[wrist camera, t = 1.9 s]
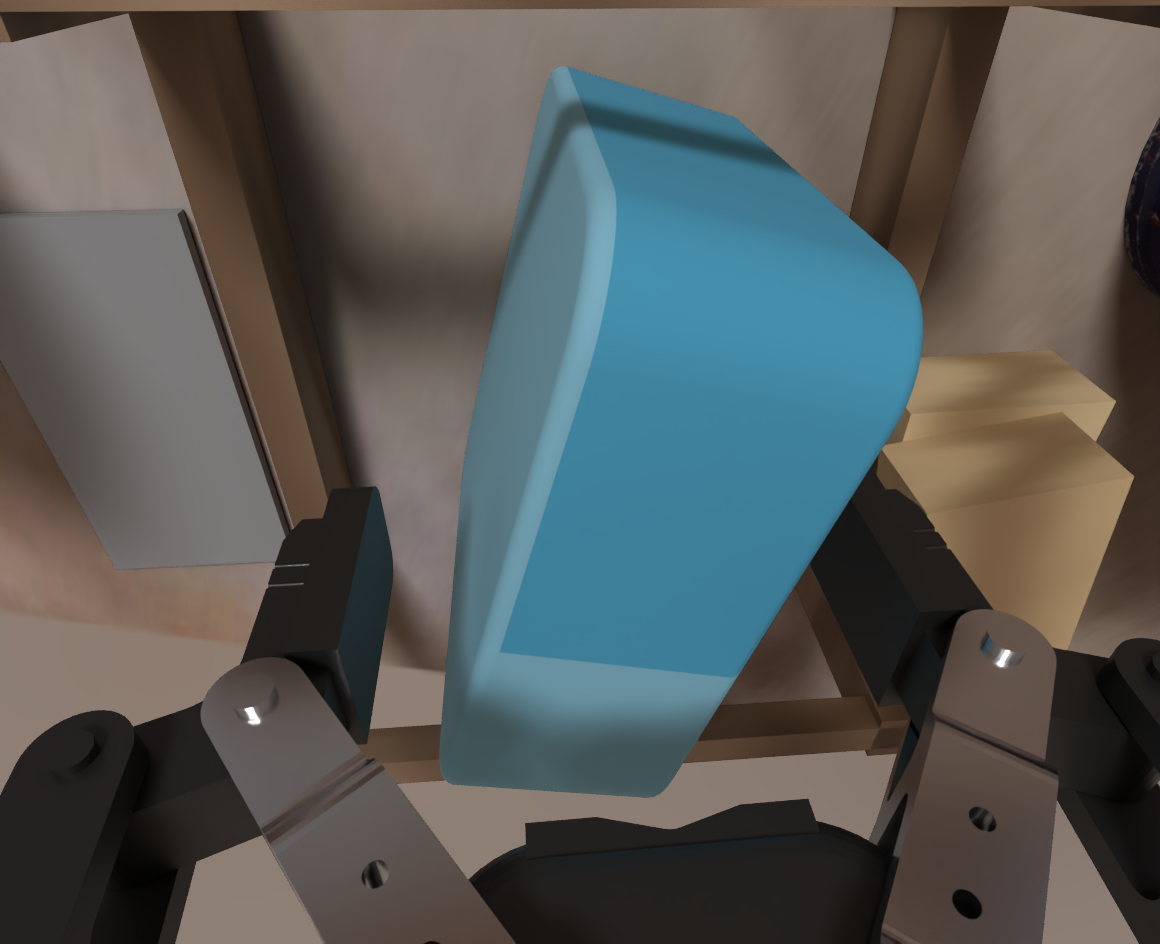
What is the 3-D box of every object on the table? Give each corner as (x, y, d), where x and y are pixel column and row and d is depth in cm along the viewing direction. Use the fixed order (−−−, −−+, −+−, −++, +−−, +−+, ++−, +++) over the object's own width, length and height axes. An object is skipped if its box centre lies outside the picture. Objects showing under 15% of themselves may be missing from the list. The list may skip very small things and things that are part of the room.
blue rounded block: (594, 479, 25) (647, 829, 15) (462, 457, 24) (431, 817, 14) (727, 105, 18) (977, 319, 8) (550, 52, 17) (605, 225, 7)
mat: (182, 209, 18) (177, 214, 18) (296, 552, 26) (293, 560, 25) (-67, 214, 18) (-77, 220, 18) (120, 561, 25) (115, 569, 25)
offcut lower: (1043, 344, 23) (1116, 401, 20) (951, 564, 29) (997, 632, 27) (862, 354, 23) (910, 414, 20) (807, 575, 29) (838, 644, 26)
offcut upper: (1062, 412, 21) (1134, 476, 18) (1003, 616, 26) (1053, 686, 24) (879, 445, 21) (927, 514, 18) (859, 641, 26) (894, 713, 24)
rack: (986, -107, 16) (1387, -128, 8) (814, 531, 27) (923, 751, 20) (134, -111, 14) (-228, -139, 7) (329, 556, 26) (261, 799, 19)
